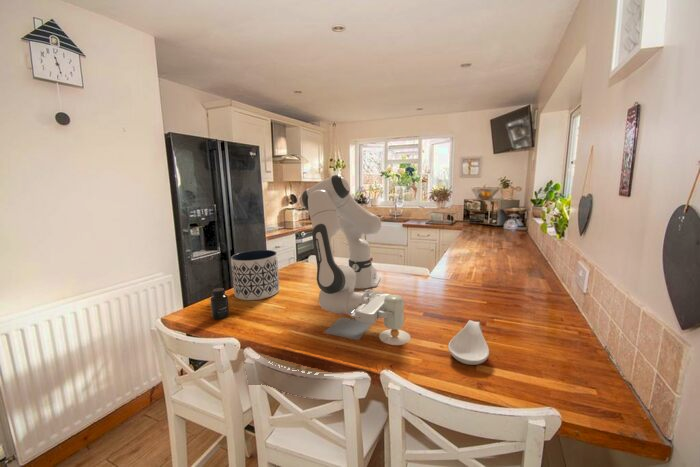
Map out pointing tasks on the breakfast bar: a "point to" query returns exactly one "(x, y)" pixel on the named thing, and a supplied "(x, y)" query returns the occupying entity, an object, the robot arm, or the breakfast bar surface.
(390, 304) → the grey rounded cylinder
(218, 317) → the supplement bottle
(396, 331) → the ball
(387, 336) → the coaster
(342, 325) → the felt mat
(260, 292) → the planter
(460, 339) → the spoon rest
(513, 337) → the breakfast bar surface
